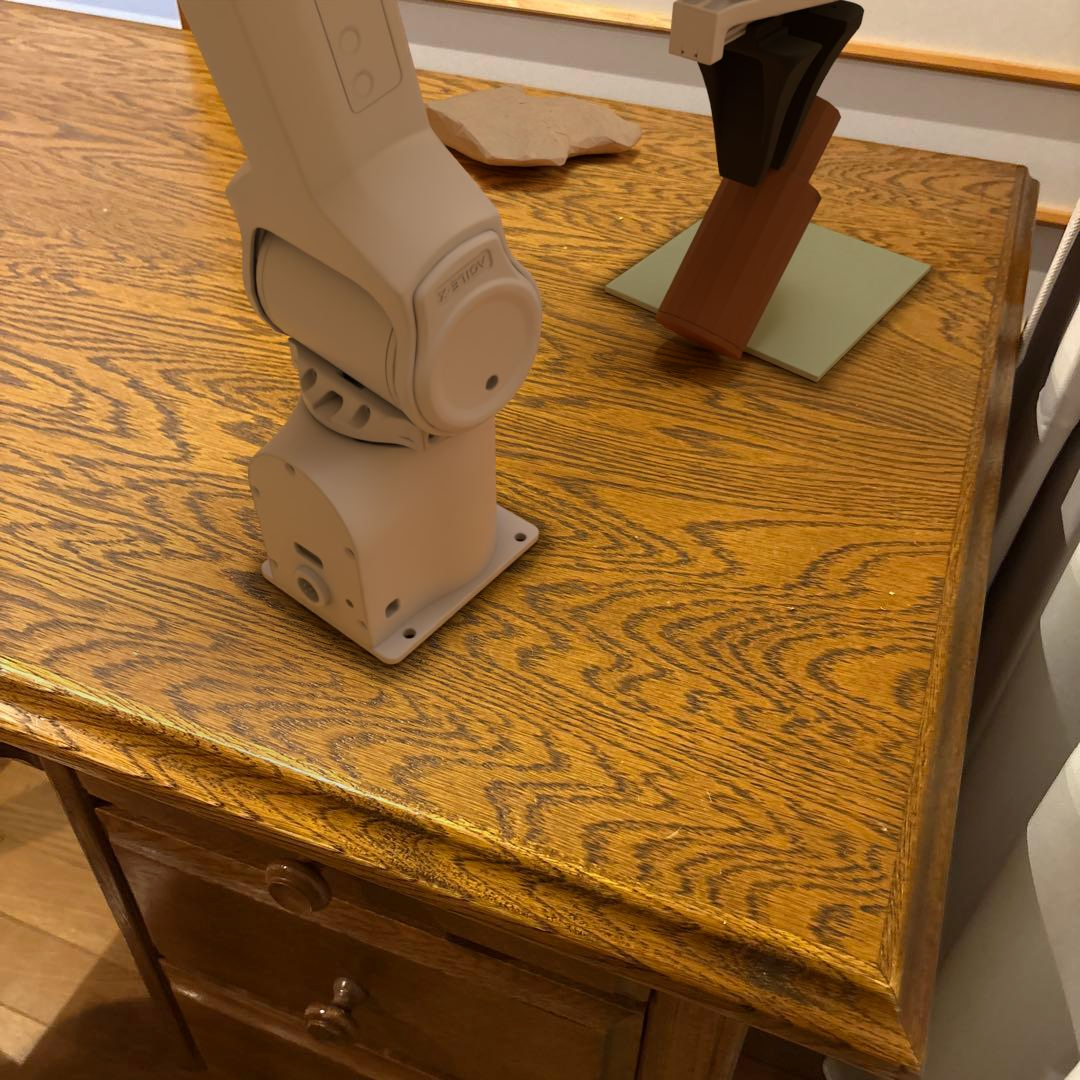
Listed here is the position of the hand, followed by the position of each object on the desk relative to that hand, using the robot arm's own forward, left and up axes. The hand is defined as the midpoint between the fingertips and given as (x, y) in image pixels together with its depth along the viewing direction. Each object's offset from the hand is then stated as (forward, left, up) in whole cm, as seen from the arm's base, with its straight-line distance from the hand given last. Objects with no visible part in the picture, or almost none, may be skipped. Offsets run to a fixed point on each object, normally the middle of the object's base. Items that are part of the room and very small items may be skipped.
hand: (751, 170), depth 48 cm
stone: (+12, +24, -10) cm, 29 cm away
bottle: (-3, 0, -8) cm, 9 cm away
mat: (+7, +1, -10) cm, 12 cm away
